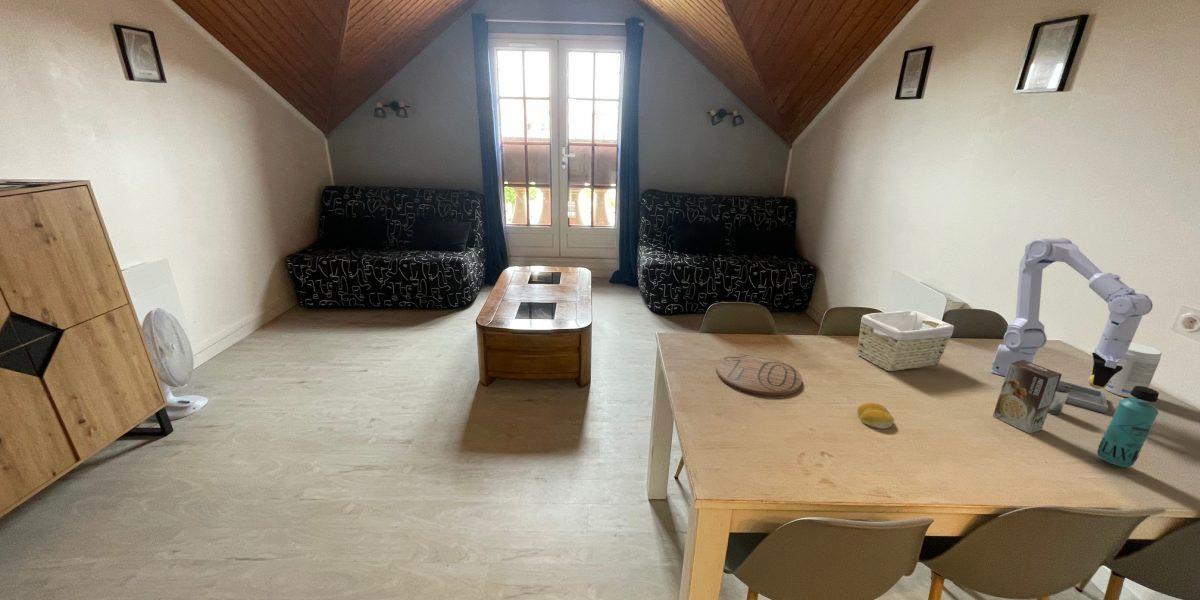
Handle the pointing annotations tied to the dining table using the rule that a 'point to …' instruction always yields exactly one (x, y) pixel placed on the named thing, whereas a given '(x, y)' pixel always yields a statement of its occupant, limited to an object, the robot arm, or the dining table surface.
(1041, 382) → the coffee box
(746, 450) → the dining table surface
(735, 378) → the trivet
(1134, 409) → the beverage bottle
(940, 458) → the dining table surface
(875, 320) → the storage basket
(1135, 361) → the supplement tub
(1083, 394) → the dish
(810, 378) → the dining table surface
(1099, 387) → the ball
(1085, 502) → the dining table surface
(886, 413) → the bread roll
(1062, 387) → the shaker cup
